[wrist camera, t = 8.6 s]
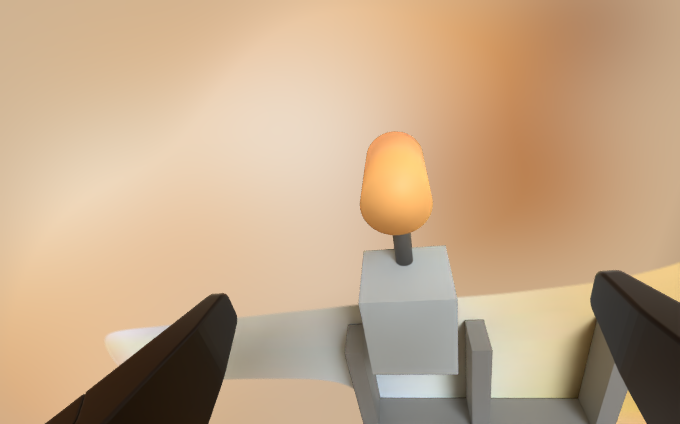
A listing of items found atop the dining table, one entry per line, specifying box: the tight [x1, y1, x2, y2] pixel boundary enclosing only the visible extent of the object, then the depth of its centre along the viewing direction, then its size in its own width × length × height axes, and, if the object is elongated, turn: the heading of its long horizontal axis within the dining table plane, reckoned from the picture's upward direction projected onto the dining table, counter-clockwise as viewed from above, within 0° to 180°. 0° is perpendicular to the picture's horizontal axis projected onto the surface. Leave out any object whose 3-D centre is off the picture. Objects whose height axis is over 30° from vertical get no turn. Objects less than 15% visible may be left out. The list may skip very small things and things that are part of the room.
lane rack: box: [345, 320, 628, 424], centre depth 25 cm, size 10×18×6 cm, turn 101°
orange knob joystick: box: [359, 132, 458, 375], centre depth 20 cm, size 14×5×5 cm, turn 10°
